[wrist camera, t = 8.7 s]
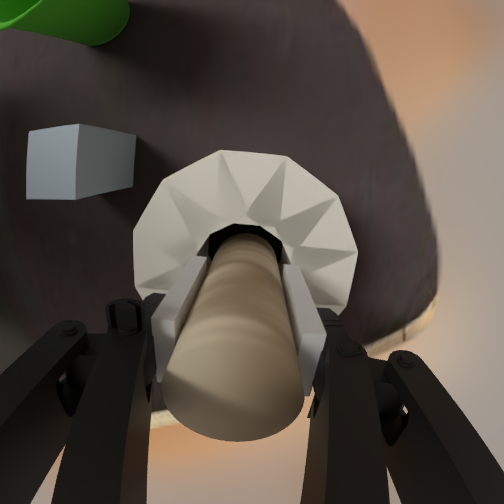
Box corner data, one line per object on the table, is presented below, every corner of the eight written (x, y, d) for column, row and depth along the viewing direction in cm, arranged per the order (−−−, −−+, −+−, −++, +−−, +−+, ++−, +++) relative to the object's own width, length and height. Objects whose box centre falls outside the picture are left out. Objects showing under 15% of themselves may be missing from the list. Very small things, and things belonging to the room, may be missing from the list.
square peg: (90, 185, 20) (26, 199, 13) (93, 137, 19) (29, 131, 12) (132, 186, 20) (75, 199, 13) (136, 135, 19) (79, 123, 12)
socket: (159, 316, 24) (140, 349, 19) (162, 151, 20) (136, 147, 15) (317, 331, 24) (329, 366, 19) (345, 168, 20) (370, 169, 15)
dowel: (213, 289, 19) (167, 432, 8) (216, 230, 18) (154, 334, 7) (272, 294, 19) (290, 444, 8) (280, 236, 18) (318, 350, 7)
